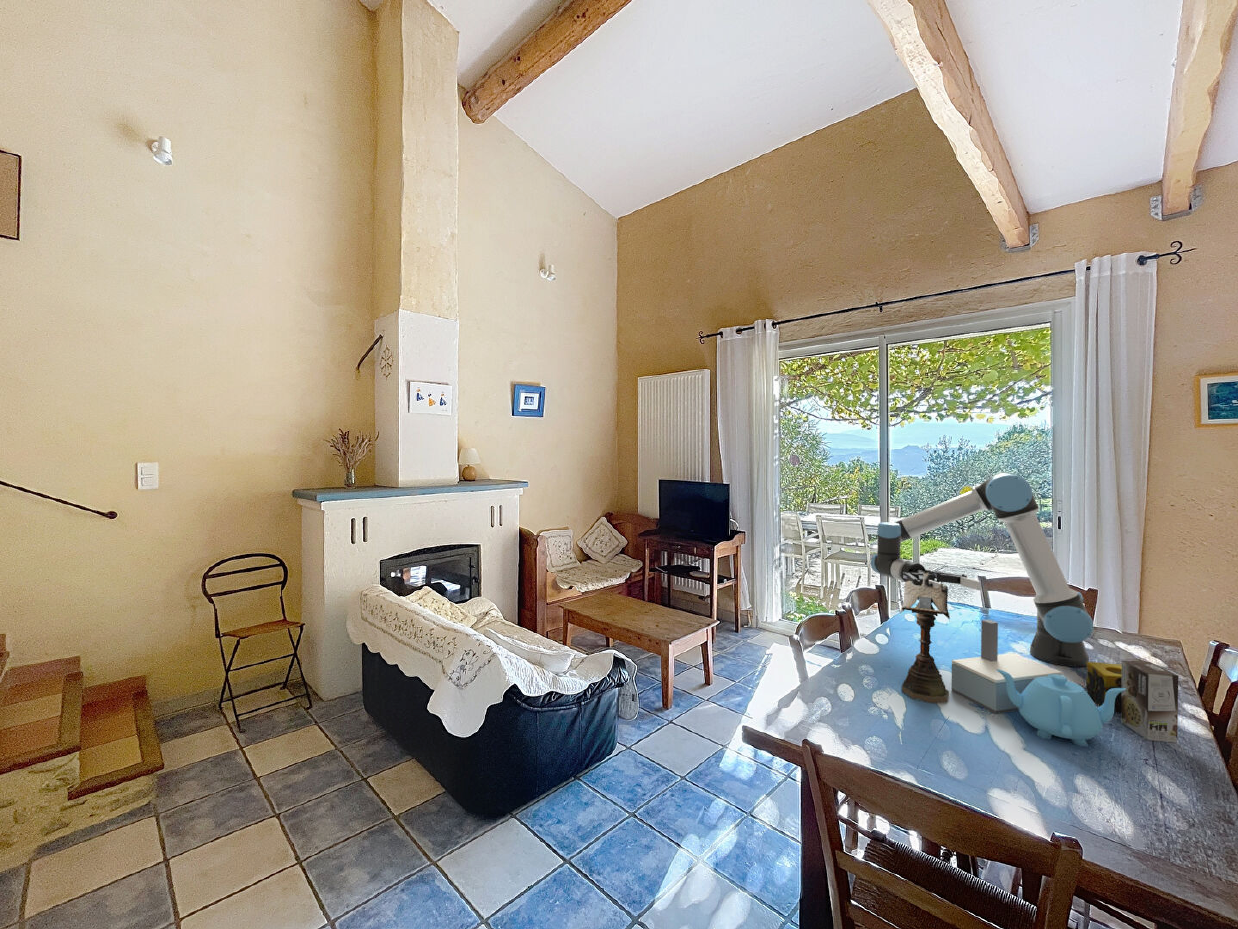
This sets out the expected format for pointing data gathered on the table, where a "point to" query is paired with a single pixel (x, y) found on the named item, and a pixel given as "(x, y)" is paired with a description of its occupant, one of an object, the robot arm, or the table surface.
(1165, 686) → the coffee box
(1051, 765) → the table surface
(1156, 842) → the table surface
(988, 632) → the carton lid
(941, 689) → the bird statue
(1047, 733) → the teapot
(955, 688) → the carton
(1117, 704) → the candle
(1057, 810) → the table surface
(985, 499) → the robot arm
